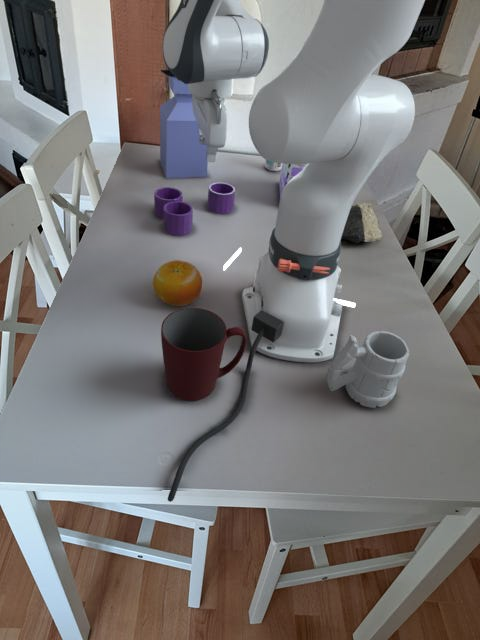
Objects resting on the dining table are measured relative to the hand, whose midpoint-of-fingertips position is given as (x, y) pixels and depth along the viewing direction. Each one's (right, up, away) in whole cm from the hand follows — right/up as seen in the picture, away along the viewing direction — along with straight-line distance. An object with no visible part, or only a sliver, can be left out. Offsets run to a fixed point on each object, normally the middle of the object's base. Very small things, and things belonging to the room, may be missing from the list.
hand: (206, 151), depth 102 cm
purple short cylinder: (+2, -10, +11) cm, 15 cm away
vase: (-8, +4, +25) cm, 27 cm away
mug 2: (+25, -48, -29) cm, 61 cm away
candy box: (+20, -5, +19) cm, 29 cm away
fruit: (-4, -33, -16) cm, 37 cm away
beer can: (+16, +6, +31) cm, 36 cm away
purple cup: (-9, -12, +6) cm, 16 cm away
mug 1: (+1, -46, -30) cm, 55 cm away
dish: (-7, -16, +2) cm, 18 cm away
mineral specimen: (+31, -17, +8) cm, 36 cm away
